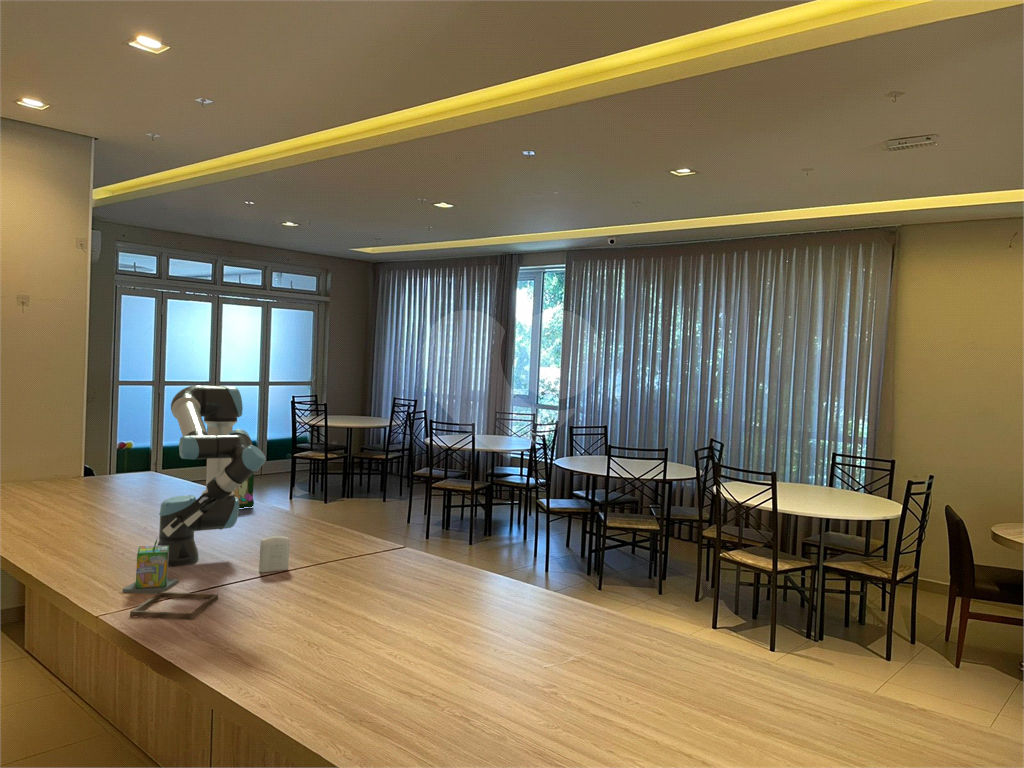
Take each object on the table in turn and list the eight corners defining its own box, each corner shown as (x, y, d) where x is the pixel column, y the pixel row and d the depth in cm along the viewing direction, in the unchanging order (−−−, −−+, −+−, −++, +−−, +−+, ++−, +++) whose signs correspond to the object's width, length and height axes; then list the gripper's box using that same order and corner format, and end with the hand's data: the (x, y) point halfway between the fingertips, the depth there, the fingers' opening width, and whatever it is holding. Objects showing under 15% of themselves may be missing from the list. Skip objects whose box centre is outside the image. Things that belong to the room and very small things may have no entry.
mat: (122, 592, 223) (122, 589, 223) (142, 580, 235) (142, 577, 235) (160, 594, 223) (160, 590, 223) (178, 582, 235) (178, 579, 235)
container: (207, 507, 350) (209, 457, 350) (241, 502, 364) (242, 454, 363) (222, 512, 341) (224, 460, 340) (256, 507, 355) (258, 458, 354)
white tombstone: (286, 567, 258) (288, 533, 258) (289, 570, 254) (291, 536, 254) (257, 570, 252) (259, 536, 252) (260, 573, 249) (262, 539, 248)
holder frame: (130, 616, 203) (130, 611, 203) (160, 596, 221) (160, 591, 221) (192, 619, 203) (192, 614, 203) (218, 598, 221) (218, 594, 221)
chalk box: (137, 580, 232) (138, 535, 231) (168, 578, 235) (169, 534, 235) (134, 589, 223) (136, 542, 223) (166, 587, 227) (168, 541, 226)
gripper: (215, 500, 215) (164, 546, 216) (246, 486, 240) (200, 527, 241) (198, 482, 215) (148, 528, 216) (231, 470, 240) (185, 511, 241)
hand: (175, 528), depth 228 cm, fingers open, 13 cm apart
